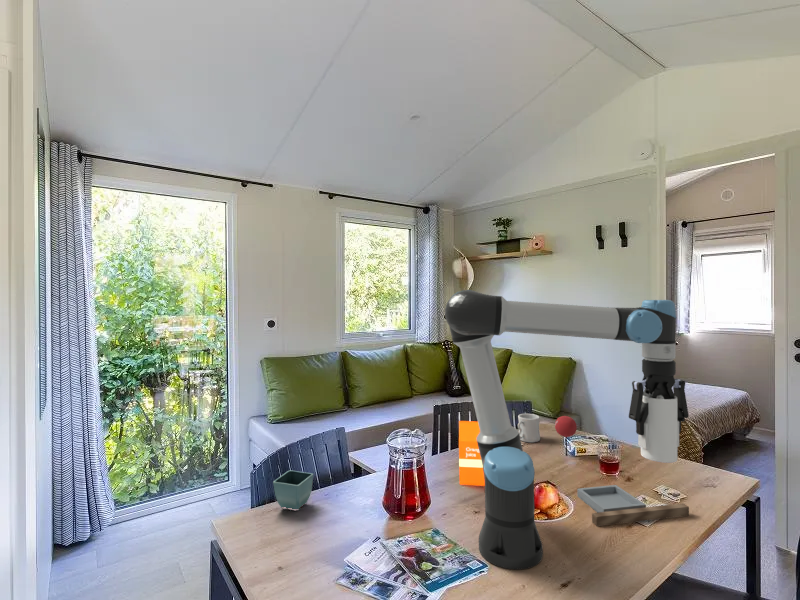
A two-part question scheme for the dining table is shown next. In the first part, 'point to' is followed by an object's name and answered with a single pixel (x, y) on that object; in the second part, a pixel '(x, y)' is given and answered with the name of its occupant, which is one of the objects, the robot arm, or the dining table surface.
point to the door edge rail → (640, 514)
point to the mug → (529, 427)
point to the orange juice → (470, 454)
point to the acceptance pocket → (608, 498)
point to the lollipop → (565, 427)
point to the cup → (661, 429)
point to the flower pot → (293, 489)
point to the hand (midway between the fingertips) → (658, 445)
